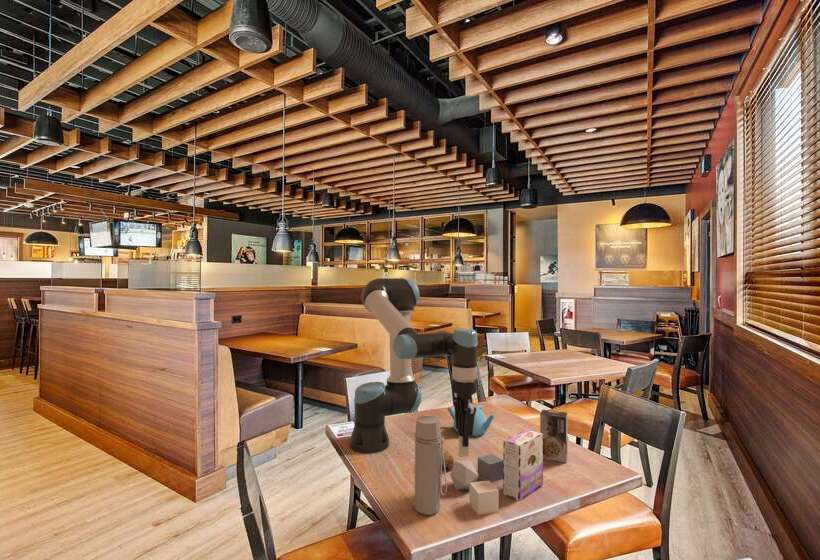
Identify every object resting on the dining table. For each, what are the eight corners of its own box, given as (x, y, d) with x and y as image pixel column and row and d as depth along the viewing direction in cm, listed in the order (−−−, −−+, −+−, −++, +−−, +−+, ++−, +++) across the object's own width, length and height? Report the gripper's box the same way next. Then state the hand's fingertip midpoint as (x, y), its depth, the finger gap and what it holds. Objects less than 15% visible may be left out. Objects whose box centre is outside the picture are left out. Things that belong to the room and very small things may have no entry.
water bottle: (410, 514, 112) (410, 422, 112) (419, 499, 119) (420, 413, 119) (442, 521, 109) (443, 426, 109) (450, 506, 116) (450, 417, 116)
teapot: (478, 422, 185) (478, 397, 185) (495, 437, 168) (495, 409, 168) (446, 425, 181) (446, 399, 181) (460, 440, 164) (460, 412, 164)
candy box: (526, 479, 132) (527, 428, 132) (543, 486, 128) (543, 433, 128) (502, 494, 123) (502, 439, 123) (519, 502, 118) (519, 445, 118)
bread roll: (430, 484, 136) (435, 467, 132) (416, 460, 144) (421, 443, 141) (455, 478, 140) (461, 460, 137) (440, 454, 148) (446, 438, 145)
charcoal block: (477, 475, 134) (477, 457, 134) (491, 471, 137) (491, 453, 137) (489, 483, 129) (489, 464, 129) (504, 479, 132) (504, 460, 132)
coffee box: (567, 456, 150) (568, 412, 150) (566, 463, 144) (566, 417, 144) (541, 451, 153) (542, 408, 153) (539, 458, 148) (539, 413, 148)
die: (470, 499, 121) (486, 469, 124) (445, 482, 122) (461, 453, 125) (466, 496, 128) (481, 467, 131) (442, 480, 130) (457, 452, 133)
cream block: (469, 503, 117) (469, 482, 117) (488, 501, 119) (488, 480, 119) (478, 515, 112) (478, 493, 112) (498, 512, 113) (498, 490, 113)
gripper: (484, 384, 121) (483, 463, 122) (467, 373, 134) (466, 445, 134) (461, 385, 119) (460, 466, 120) (445, 375, 132) (444, 448, 132)
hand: (463, 455), depth 127 cm, fingers closed
